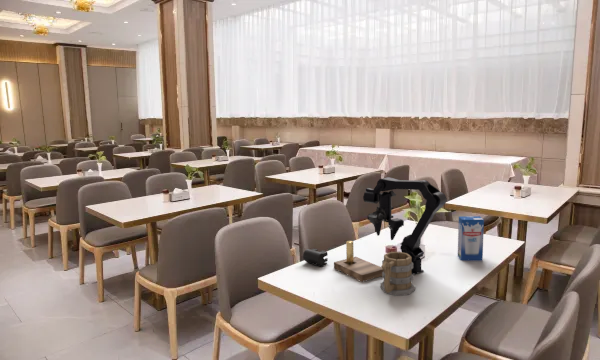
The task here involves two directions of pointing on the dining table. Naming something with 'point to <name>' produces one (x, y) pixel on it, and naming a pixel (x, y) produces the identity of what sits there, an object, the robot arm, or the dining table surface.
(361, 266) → the hole block
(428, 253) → the dining table surface
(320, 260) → the end cap
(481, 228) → the milk carton
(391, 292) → the tankard
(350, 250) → the peg
